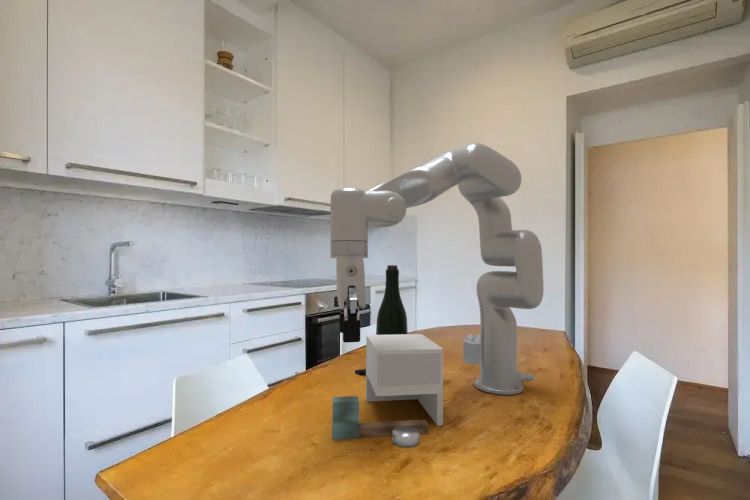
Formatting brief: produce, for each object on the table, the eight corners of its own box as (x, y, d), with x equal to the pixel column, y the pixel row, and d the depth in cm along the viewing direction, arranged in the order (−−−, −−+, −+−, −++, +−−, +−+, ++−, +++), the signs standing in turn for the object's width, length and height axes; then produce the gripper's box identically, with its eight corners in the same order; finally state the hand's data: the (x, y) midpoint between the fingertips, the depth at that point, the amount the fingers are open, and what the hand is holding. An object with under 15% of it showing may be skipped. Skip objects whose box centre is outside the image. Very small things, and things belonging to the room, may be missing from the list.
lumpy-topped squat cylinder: (501, 360, 136) (501, 335, 136) (482, 367, 127) (482, 340, 127) (475, 355, 144) (475, 331, 144) (455, 361, 134) (455, 336, 135)
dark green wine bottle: (413, 366, 127) (414, 265, 128) (397, 373, 118) (398, 265, 120) (385, 361, 133) (386, 264, 134) (369, 368, 124) (370, 264, 125)
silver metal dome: (410, 434, 77) (410, 424, 77) (424, 445, 72) (424, 434, 72) (387, 439, 74) (387, 428, 75) (400, 450, 70) (400, 439, 70)
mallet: (424, 428, 79) (424, 393, 80) (428, 434, 76) (428, 398, 77) (332, 432, 77) (332, 397, 77) (332, 439, 74) (333, 402, 74)
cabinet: (421, 397, 97) (421, 334, 98) (443, 425, 80) (443, 348, 81) (365, 399, 95) (366, 335, 96) (376, 429, 78) (376, 350, 79)
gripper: (374, 249, 70) (374, 345, 69) (362, 251, 87) (362, 328, 86) (332, 249, 69) (332, 347, 68) (328, 251, 86) (328, 329, 85)
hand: (349, 336), depth 77 cm, fingers open, 9 cm apart
